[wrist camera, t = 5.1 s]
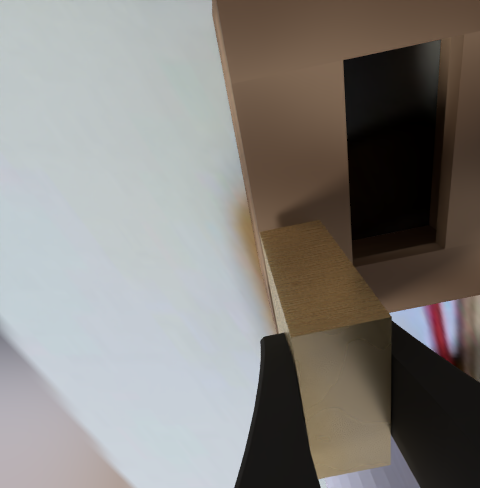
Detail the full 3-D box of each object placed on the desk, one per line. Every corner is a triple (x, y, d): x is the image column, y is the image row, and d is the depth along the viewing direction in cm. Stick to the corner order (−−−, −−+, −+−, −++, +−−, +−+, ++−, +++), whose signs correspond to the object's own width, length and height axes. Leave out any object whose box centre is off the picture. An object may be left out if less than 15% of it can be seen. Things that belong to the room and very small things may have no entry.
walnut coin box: (437, 231, 19) (519, 286, 14) (260, 267, 19) (277, 335, 14) (458, -39, 14) (604, -109, 8) (212, 14, 14) (212, -23, 9)
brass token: (330, 334, 13) (390, 465, 9) (280, 344, 13) (315, 479, 9) (319, 219, 11) (391, 317, 7) (259, 232, 11) (290, 337, 7)
